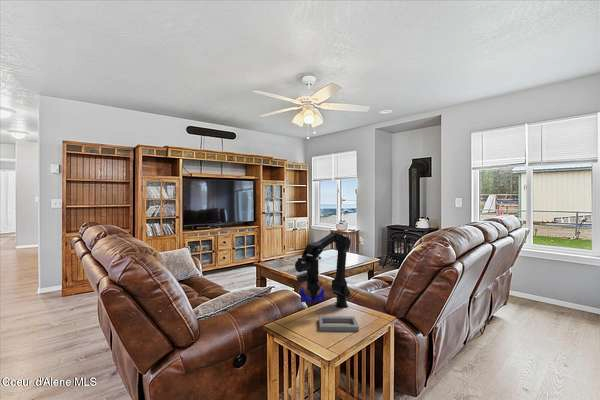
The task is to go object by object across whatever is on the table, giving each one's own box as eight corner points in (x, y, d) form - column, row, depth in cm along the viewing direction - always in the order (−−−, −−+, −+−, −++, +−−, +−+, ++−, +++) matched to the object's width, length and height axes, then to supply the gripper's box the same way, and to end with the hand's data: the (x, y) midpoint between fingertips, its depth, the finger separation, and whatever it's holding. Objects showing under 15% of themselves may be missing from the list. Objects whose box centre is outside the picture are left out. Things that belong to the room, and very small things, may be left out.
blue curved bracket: (300, 302, 149) (300, 290, 149) (301, 299, 154) (301, 287, 154) (324, 302, 149) (324, 291, 148) (323, 299, 153) (324, 288, 153)
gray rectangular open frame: (318, 319, 148) (318, 316, 148) (354, 320, 148) (354, 316, 148) (320, 330, 136) (320, 326, 136) (358, 331, 136) (358, 327, 136)
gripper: (297, 264, 160) (297, 292, 161) (296, 273, 142) (296, 305, 142) (318, 264, 160) (317, 292, 161) (319, 273, 142) (319, 305, 142)
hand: (312, 298), depth 151 cm, fingers closed on blue curved bracket, 4 cm apart
